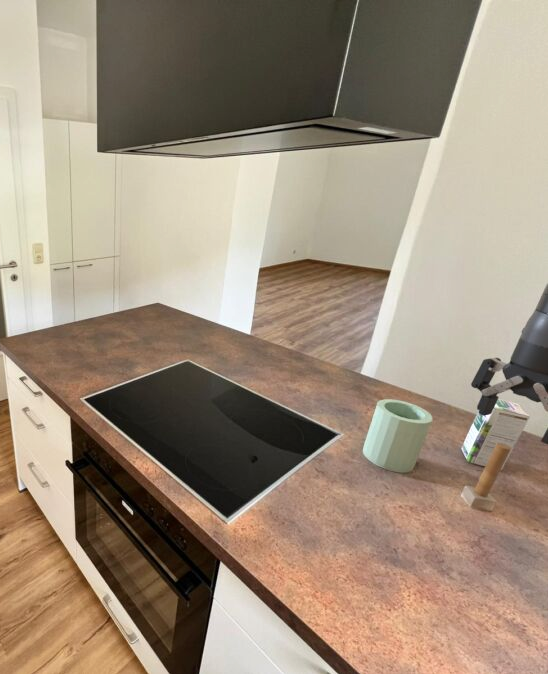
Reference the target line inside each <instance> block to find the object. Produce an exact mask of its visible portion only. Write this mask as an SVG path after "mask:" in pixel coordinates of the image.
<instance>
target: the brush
mask: <svg viewBox="0 0 548 674" xmlns="http://www.w3.org/2000/svg"><path fill="white" fill-rule="evenodd" d="M510 450H511V447H510V446H508V445H506V444H503V443H497V444H496V446H495V448H494V450H493V452H492V454H491V456H490V458H489V460H488V462H487V464H486V466H484V469H483V471H482V473H481V475H480V477H479V479H478V481H477V483H476V485H475V486H470V485H464V487H463V489H462V491H461V493H460V496H461V498H462V499H463V500H464V501H465V503H466V504H467V506H468V507H469V508H472V509H476V510H481V511H485V512H493V509H494V508H495V506H496V504H497V499H495V498H494V497H493V496H492V495H491V493H490V491H491V490H492V488H493V485H494V483H495V482H496V479H497V478H498V476H499V474H500V472H501V471H502V470H501V468H502V466H503V464H504V462H505V460H506V458H507V456H508V454H509V452H510Z"/></svg>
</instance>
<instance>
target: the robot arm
mask: <svg viewBox="0 0 548 674" xmlns="http://www.w3.org/2000/svg"><path fill="white" fill-rule="evenodd" d="M500 371H502V373H503V376H504V379H505V380H503V381H500V382H498V383H496V384H493V385H491V384H490V383H491V382H492V380H493V379H494V376H495V375H496V373H498V372H500ZM470 386H471V387H472V388H473V389H477V390H478V391H480V393H481V397H480V399H479V401H478V404H477V406H476V409H477V410H478V412H479V414H481V415H483V416H485V415H489V414H491V413H492V411H493V409H494V407H495V404H496V402H497V400H498V399H500V397H499V396H498V395H499V394H502V393H505V392H507V391H511V392H512V394H514V395H516V396H521V397H525V398H527V399H528V400H530V401H531V402H535V403H541V404H542V406H543V409H544V410H545V411H546V412H547V413H548V282H547V284H546V285H545V287H544V289H543V291H542V294H541V296H540V298H539V300H538V302H537V305H536V307H535V309H534V310H533V312H532V313H531V316H530V317H529V318H528V320H527V321H526V323H525V326H524V327H523V328H522V330H521V334H520V337H519V339H518V341H517V343H516V345H515V348H514V350H513V352H512V354H511V356H510V360H509V362H508V363H506V362H504V361H502V360H501V358H500V357H491V358H485V359H483V360H482V362H481V364H480V365H479V368H478V369H477V371H476V373H475V375H474V378H473V379H472V382H471V383H470ZM540 442H541V443H543V444H546V445H548V428H546V431H545V432H544V434H543V436H542V438H541V440H540Z"/></svg>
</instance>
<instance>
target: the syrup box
mask: <svg viewBox="0 0 548 674" xmlns="http://www.w3.org/2000/svg"><path fill="white" fill-rule="evenodd" d="M530 417H531V415H529V414H528V413H527V411H526V410H525V409H524V408H523V407H522V406H521V405H520V404H519V403H516V402H513V401H509V400H504V399H500V398H498V400H497V402H496V404H495V407H494V409H493V411H492V413H491V414H489V415H485V416H483V415H481V414H479V411H478V412H477V413H476V416H475V417H474V419H473V422H472V424H471V426H470V428H469V431H468V432H467V434H466V437H465V439H464V442H463V444H462V446H461V449H460V450H461V451H462V453H463V455H464V457H465V460H466V461H467V462H468V463H470V464H473V465H477V466H481V467H485V466H486V464H487V462H488V460H489V458H490V456H491V454H492V452H493V450H494V448H495V446H496V444H497V443H503V444H506V445H508V446H510V447H511V450H510V452H509V454H508V456H507V458H506V460H505V462H504V464H503V466H502V468H501V470H500V471H502V470H503V469H504V467H505V466H506V463H507V461H508V460H509V457H510V456H511V454H512V451H513V450H514V448H515V446H516V444H517V442H518V440H519V438H520V437H521V435H522V433H523V431H524V429H525V427H526V425H527V423H528V421H529V419H530Z"/></svg>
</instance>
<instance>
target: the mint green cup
mask: <svg viewBox="0 0 548 674" xmlns="http://www.w3.org/2000/svg"><path fill="white" fill-rule="evenodd" d="M433 420H434V419H433V416H432V414H431V413H430V412H429V411H427V410H426V409H424V408H423V407H420V406H418V405H416V404H414V403H410V402H408V401H404V400H399V399H391V398H385V399H380V400H378V401H377V403H376V406H375V409H374V412H373V415H372V419H371V421H370V424H369V428H368V431H367V435H366V438H365V441H364V445H363V448H362V454H363V455H364V457H365V458H366V459H367V460H368V461H369V462H371V463H372V464H373V465H375V466H377V467H379V468H381V469H384V470H387V471H389V472H394V473H399V474H400V473H401V474H406V473H410V472H412V471H413V470H414V468H415V466H416V464H417V461H418V460H419V459H418V458H419V456H420V453H421V451H422V448H423V445H424V443H425V440H426V438H427V435H428V433H429V430H430V428H431V425H432V423H433Z"/></svg>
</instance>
